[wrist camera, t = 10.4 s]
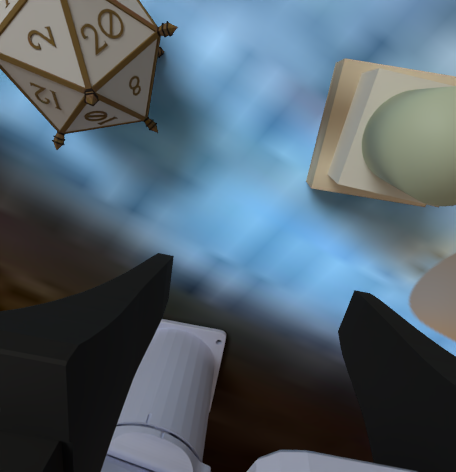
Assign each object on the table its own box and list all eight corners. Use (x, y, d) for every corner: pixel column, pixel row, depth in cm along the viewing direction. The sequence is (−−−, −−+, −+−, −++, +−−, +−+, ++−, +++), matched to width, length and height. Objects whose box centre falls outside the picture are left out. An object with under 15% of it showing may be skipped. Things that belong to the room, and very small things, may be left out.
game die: (131, 34, 22) (99, -183, 12) (200, 134, 21) (224, -12, 11) (1, 87, 19) (-169, -129, 10) (73, 201, 19) (-33, 90, 9)
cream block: (416, 194, 19) (438, 207, 17) (327, 174, 19) (337, 184, 17) (461, 96, 17) (494, 95, 15) (361, 72, 17) (379, 68, 14)
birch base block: (406, 196, 22) (425, 207, 19) (304, 179, 22) (311, 188, 19) (449, 83, 19) (477, 80, 17) (333, 64, 19) (345, 58, 17)
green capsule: (439, 186, 16) (494, 210, 13) (352, 179, 16) (382, 201, 13) (470, 92, 15) (544, 89, 11) (373, 86, 15) (414, 80, 11)
